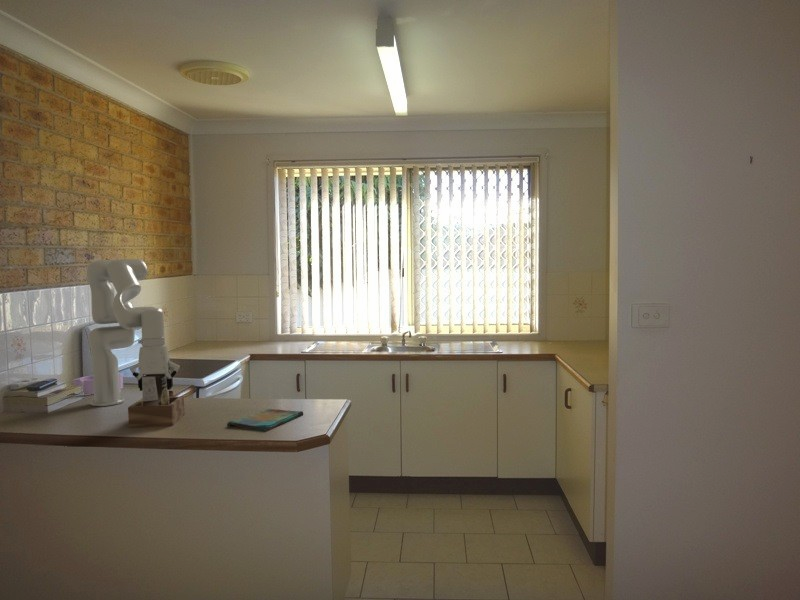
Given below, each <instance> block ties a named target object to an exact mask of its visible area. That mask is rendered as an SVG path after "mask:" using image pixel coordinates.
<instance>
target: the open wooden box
mask: <svg viewBox="0 0 800 600" xmlns="http://www.w3.org/2000/svg"><path fill="white" fill-rule="evenodd" d="M127 414H128V415H127V416H128V428H141V427H143V428H144V427H163V426H164V427H165V426H174V425H175V424H176V423H177V422H178V421H179V420H180V419H182V418H183V417H184V416H186V414H185V396H173V397H169V405H154V406H143V397H142V398H141V399H139V400H137V401H136V402H133V404H131V405H129V406H128V407H127Z"/></svg>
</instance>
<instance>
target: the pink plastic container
mask: <svg viewBox="0 0 800 600" xmlns="http://www.w3.org/2000/svg"><path fill="white" fill-rule="evenodd" d="M123 378H124V377H123V373H122V372H121V373H119V389H120V390H122V388H123V389H124V380H123ZM79 385H80V386H83V392H84V394H94V381H93V375H87V376H81V377H79V378H72V386H79Z"/></svg>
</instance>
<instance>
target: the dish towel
mask: <svg viewBox="0 0 800 600" xmlns="http://www.w3.org/2000/svg"><path fill="white" fill-rule="evenodd" d="M303 415H304V411H303V410H302V411H301V410H300V411H299V410H290V409H289V410H285V409H273V408H267V409H264V410H261V411H259V412H256V413H253V414H249V415H247V416H245V417H242V418H239V419H236V420H230V421H227V423H226V427H227V428H231V429H232V428H233V429H241V430H251V431H258V432H269V431H271V430H273V429H274V428H276V427H278V426H281V425H283V424H285V423H287V422H290V421H292V420H294V419H297V418H300V417H301V416H303Z"/></svg>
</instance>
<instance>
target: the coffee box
mask: <svg viewBox="0 0 800 600" xmlns="http://www.w3.org/2000/svg"><path fill="white" fill-rule="evenodd" d="M167 379H168V377H167V376H166V375H165V374H159V375H144V376H143V377H142V398H143V406H154V405H169V391H170V390H167Z"/></svg>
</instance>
